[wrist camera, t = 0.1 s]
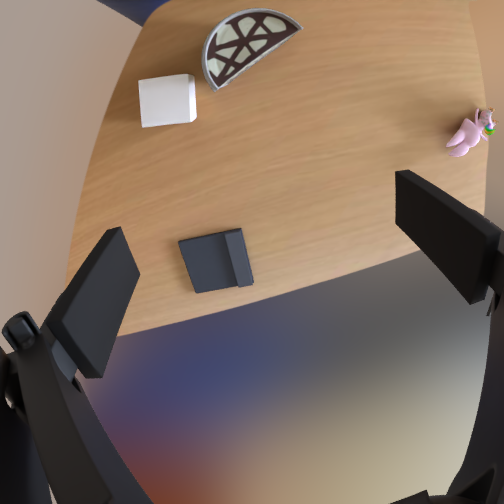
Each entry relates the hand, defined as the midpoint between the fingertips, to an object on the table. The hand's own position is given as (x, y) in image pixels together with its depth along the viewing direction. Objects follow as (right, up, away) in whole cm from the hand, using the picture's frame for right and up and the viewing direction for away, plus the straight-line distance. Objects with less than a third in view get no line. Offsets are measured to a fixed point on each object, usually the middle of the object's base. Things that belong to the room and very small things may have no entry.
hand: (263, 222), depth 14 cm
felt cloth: (-6, -3, +36) cm, 37 cm away
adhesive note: (-11, +19, +24) cm, 32 cm away
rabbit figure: (+36, +20, +26) cm, 49 cm away
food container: (-2, +25, +21) cm, 33 cm away
